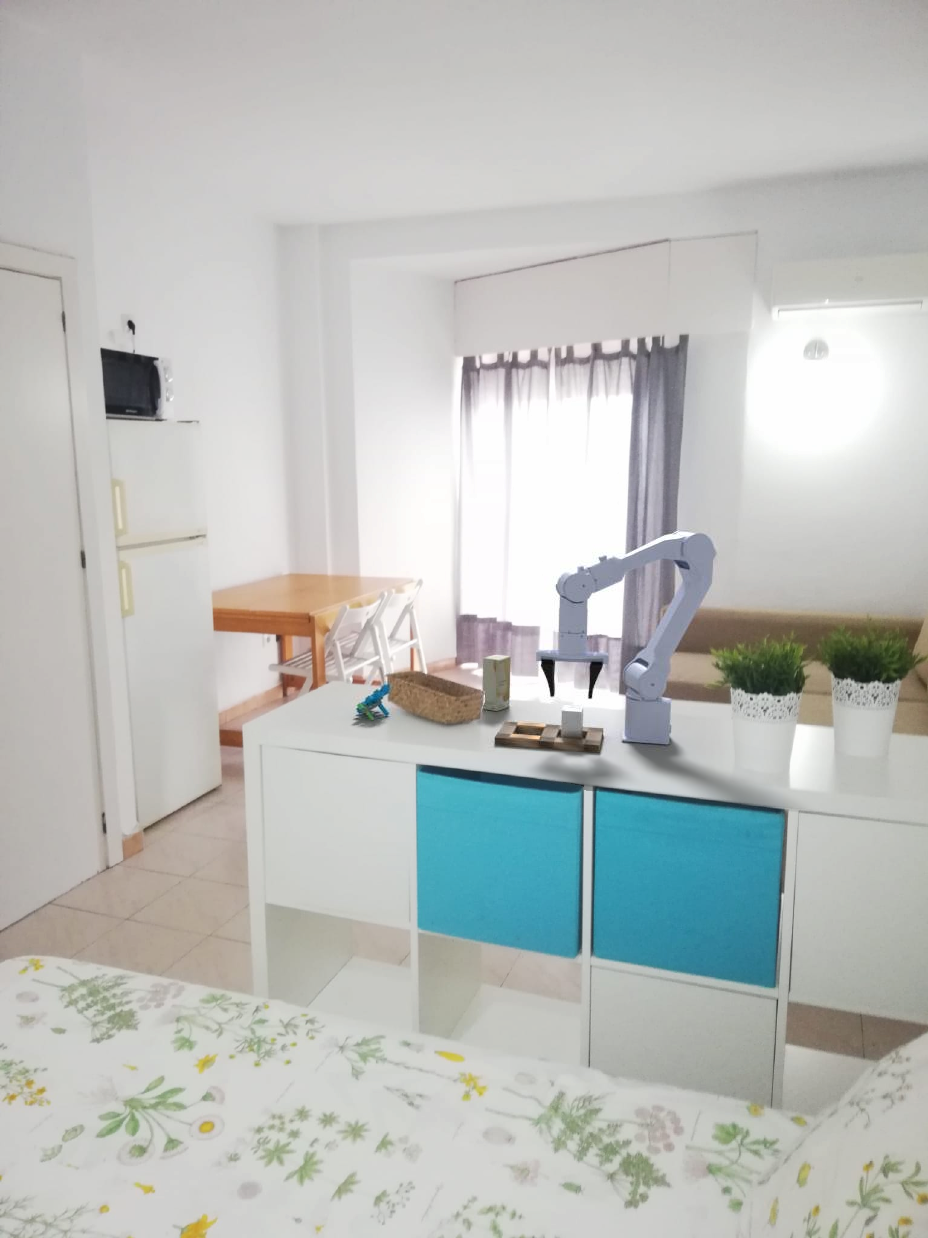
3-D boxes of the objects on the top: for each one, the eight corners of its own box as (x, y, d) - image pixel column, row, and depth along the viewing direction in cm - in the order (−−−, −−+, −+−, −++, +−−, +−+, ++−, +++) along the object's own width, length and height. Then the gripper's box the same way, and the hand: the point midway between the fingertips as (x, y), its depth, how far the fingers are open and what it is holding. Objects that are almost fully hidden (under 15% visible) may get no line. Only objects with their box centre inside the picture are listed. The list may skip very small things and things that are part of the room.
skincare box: (497, 712, 197) (498, 660, 195) (481, 709, 199) (481, 658, 197) (510, 706, 203) (511, 655, 201) (494, 703, 205) (495, 653, 203)
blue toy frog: (375, 699, 201) (396, 675, 195) (390, 719, 200) (412, 695, 194) (344, 716, 192) (364, 691, 186) (360, 736, 191) (381, 712, 185)
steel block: (582, 739, 177) (583, 706, 176) (580, 745, 173) (581, 711, 172) (563, 738, 178) (563, 705, 177) (560, 743, 174) (561, 710, 173)
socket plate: (603, 735, 180) (603, 727, 180) (599, 752, 168) (599, 744, 168) (505, 728, 185) (505, 720, 184) (494, 744, 173) (494, 736, 173)
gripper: (610, 629, 174) (608, 693, 177) (539, 626, 177) (538, 690, 180) (608, 635, 168) (606, 702, 170) (535, 632, 171) (534, 698, 173)
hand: (571, 696), depth 174 cm, fingers open, 7 cm apart
